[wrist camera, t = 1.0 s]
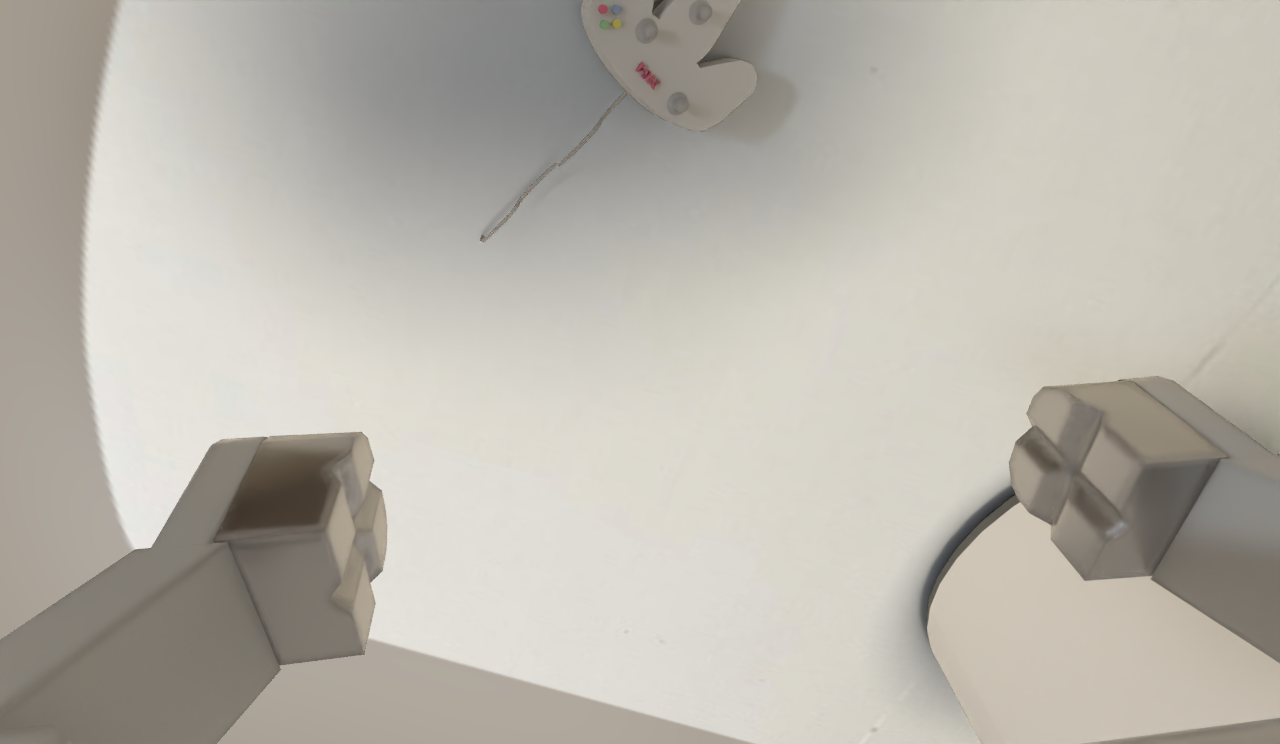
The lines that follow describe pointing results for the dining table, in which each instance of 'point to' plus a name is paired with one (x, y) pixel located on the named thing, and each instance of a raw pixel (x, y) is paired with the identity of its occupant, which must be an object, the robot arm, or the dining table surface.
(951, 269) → the dining table surface
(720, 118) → the game controller
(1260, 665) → the bucket
